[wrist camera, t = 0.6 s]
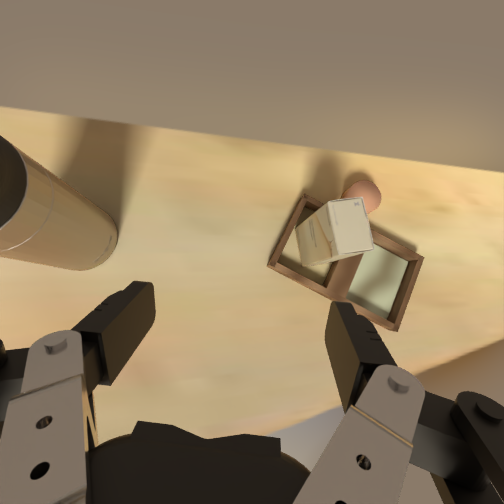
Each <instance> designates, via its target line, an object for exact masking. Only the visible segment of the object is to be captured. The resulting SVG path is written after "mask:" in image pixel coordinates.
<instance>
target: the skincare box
mask: <svg viewBox="0 0 504 504" xmlns="http://www.w3.org/2000/svg"><path fill="white" fill-rule="evenodd" d="M295 231H296V237H297V243H298V248H299V254H300V259H301V264H302V266H311V265H318V264H324V263H329V262H333V261H336V260H340V259H343V258H347V257H351V256H355V255H358V254H362V253H366V252H369V251H373V250H374V249H375V248H374V243H373V238H372V234H371V230H370V225H369V221H368V217H367V213H366V209H365V205H364V201H363V197H355V198H346V199H338V200H332V201H328V202H327V203H325V204H324V205H323V206H322V207H321V208H319V209H318V210H317V211H316V212H314V213H313V214H312V215H311V216H310V217H308V218H307V219H306V220H305V221H303V222H302V223H301V224H300V225H299V226H297V227H296V228H295Z"/></svg>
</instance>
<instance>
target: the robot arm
mask: <svg viewBox="0 0 504 504" xmlns="http://www.w3.org/2000/svg"><path fill="white" fill-rule="evenodd" d="M116 242H117V229H116V226H115V223H114V221H113V220H112V218H111V217H110V216H109V215H108V214H107V213H105V212H104V211H103V210H102V209H100V208H99V207H97V206H96V205H95V204H94V203H92V202H91V201H89V200H88V199H87V198H85V197H84V196H83V195H81V194H80V193H79V192H77V191H76V190H74V189H73V188H72V187H70V186H69V185H68V184H66V183H65V182H63V181H62V180H61V179H59V178H58V177H57V176H55V175H54V174H52V173H51V172H50V171H48V170H47V169H46V168H44V167H43V166H42V165H40V164H39V163H37V162H36V161H34V160H33V159H32V158H30V157H29V156H27V155H26V154H25V153H23V152H22V151H21V150H19V149H18V148H17V147H15V146H14V145H12V144H11V143H10V142H8V141H7V140H6V139H4V138H3V137H2V136H0V257H4V258H10V259H15V260H21V261H26V262H31V263H37V264H42V265H48V266H53V267H58V268H63V269H69V270H78V271H81V270H88V269H91V268H94V267H96V266H98V265H100V264H102V263H103V262H104V261H105V260H107V259H108V258H109V256H110V255H111V254H112V252H113V250H114V248H115V246H116ZM155 314H156V310H155V298H154V286H153V284H152V283H151V282H142V281H133V282H132V283H131V284H130V285H129V286H128V287H126V288H125V289H124V290H123V291H122V290H120V291H118V292H116V293H114V294H112V295H110V296H109V297H107V298H106V299H105V300H104V301H103V302H102V303H101V305H100V304H99V305H98V306H97V307H96V308H95V309H94V311H92V312H90V313H89V314H88V315H87V316H86V317H85V318H84V319H82V320H81V321H80V322H79V323H78V324H77V325H76V326H74V327H73V328H72V329H71V330H63V331H58V332H54V333H51V334H48V335H46V336H44V337H42V338H40V339H39V340H37V341H36V342H35V343H34V344H33V345H32V346H31V347H30V348H22V349H14V350H5V347H4V344H3V342H2V340H0V504H397V503H398V500H399V497H400V492H401V489H402V486H403V482H404V478H405V475H406V471H407V467H408V464H409V463H411V464H413V465H415V466H418V467H420V468H422V469H425V470H427V471H429V472H430V474H431V476H432V478H433V481H434V483H435V485H436V487H437V490H438V492H439V494H440V496H441V499H442V501H443V503H444V504H504V503H503V502H502V500H503V501H504V407H503V406H502V405H500V404H498V403H497V402H495V401H494V400H492V399H490V398H488V397H486V396H484V395H481V394H478V393H475V392H469V391H466V392H461V393H459V394H458V396H457V398H456V400H455V401H452V400H449V399H446V398H443V397H440V396H438V395H435V394H432V393H429V392H427V391H425V390H424V387H423V386H422V384H421V383H420V381H419V380H418V379H417V378H416V377H415V376H413V375H412V374H411V373H409V372H408V371H406V370H404V369H402V368H400V367H398V366H397V364H396V363H395V361H394V359H393V358H392V356H391V354H390V353H389V351H388V349H387V347H386V346H385V344H384V342H383V341H382V339H381V337H380V335H379V334H378V332H377V330H376V329H375V327H374V325H373V324H372V323H371V322H370V321H369V320H368V319H367V318H366V317H364V316H363V315H357V313H356V311H355V309H354V307H353V305H352V304H351V303H350V302H340V301H332V303H331V306H330V311H329V315H328V320H327V325H326V330H325V344H326V348H327V352H328V355H329V359H330V362H331V366H332V370H333V373H334V377H335V380H336V384H337V388H338V391H339V395H340V398H341V402H342V406H343V409H344V413H345V416H344V417H343V419H342V421H341V423H340V424H339V426H338V428H337V429H336V431H335V433H334V434H333V436H332V438H331V440H330V441H329V443H328V445H327V447H326V448H325V450H324V451H323V453H322V455H321V457H320V458H319V460H318V462H317V463H316V465H315V467H314V468H313V470H312V472H310V471H309V470H308V469H307V468H306V467H305V466H304V465H302V464H301V463H300V462H298V461H297V460H296V459H294V458H292V457H291V456H289V455H287V454H285V453H283V452H281V445H280V438H274V437H266V436H258V435H250V434H240V435H233V436H227V437H220V438H213V439H204V438H201V437H199V436H197V435H194V434H192V433H190V432H187V431H185V430H183V429H180V428H178V427H176V426H174V425H168V424H160V423H152V422H144V421H138V422H137V424H136V426H135V428H134V430H133V432H132V434H127V435H123V436H119V437H116V438H113V439H111V440H108V441H106V442H104V443H102V444H100V445H99V443H98V434H97V423H96V413H95V403H94V395H93V390H94V389H95V387H96V386H97V385H98V384H99V385H108V386H111V384H112V383H113V382H114V380H115V379H116V377H117V376H118V374H119V373H120V371H121V370H122V369H123V367H124V366H125V364H126V363H127V361H128V360H129V358H130V357H131V356H132V354H133V353H134V351H135V350H136V348H137V347H138V345H139V344H140V343H141V341H142V340H143V338H144V337H145V335H146V334H147V332H148V331H149V330H150V328H151V327H152V325H153V323H154V320H155ZM490 481H491V482H492V484H493V485H494V487H495V488H496V490H497V492H498V493H499V495H500V497H501V498H502V500H501V498H500V497H499V495H498V493H497V492H496V490H495V489H494V487H493V485H492V484H491V482H490Z"/></svg>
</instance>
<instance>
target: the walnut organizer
mask: <svg viewBox="0 0 504 504" xmlns="http://www.w3.org/2000/svg"><path fill="white" fill-rule="evenodd" d="M323 205H324V204H323V203H321V202H319V201H317V200H315V199H313V198H312V197H310V196H308V195H306V194H304V195H303V196H302V198H301V199H300V201H299V203H298V205H297V207H296V209H295V211H294V213H293V215H292V217H291V219H290V221H289V223H288V225H287V227H286V229H285V231H284V233H283V235H282V237H281V239H280V241H279V243H278V245H277V247H276V249H275V251H274V253H273V255H272V257H271V259H270V261H269V263H268V265H267V267H269V268H271V269H273V270H275V271H277V272H278V273H280V274H282V275H284V276H286V277H288V278H290V279H292V280H294V281H296V282H298V283H300V284H301V285H303V286H305V287H307V288H309V289H311V290H313V291H315V292H317V293H319V294H321V295H322V296H324V297H326V298H328V299H330V300H332V301H340V302H350V303H351V304H352V305H353V307H354V309H355V311H356V313H357V314H359V315H363V316H364V317H366V318H367V319H368V320H370V321H372V322H374V323H376V324H378V325H380V326H382V327H384V328H386V329H388V330H391V331H396V332H398V329H399V327H400V324H401V321H402V318H403V316H404V313H405V310H406V307H407V304H408V302H409V299H410V296H411V293H412V290H413V288H414V285H415V282H416V279H417V276H418V274H419V271H420V268H421V265H422V262H423V260H424V257H423V256H421V255H419V254H417V253H415V252H413V251H411V250H409V249H408V248H406V247H404V246H402V245H400V244H398V243H396V242H394V241H392V240H391V239H389V238H387V237H385V236H383V235H381V234H379V233H377V232H376V231H374V230H372V229H370V230H371V234H372V238H373V243H375V244H377V245H379V246H381V247H382V248H381V247H379V246H377V245H375V244H374V248H375V249H374V250H373V251H369V252H366V253H362V254H358V255H355V256H351V257H347V258H343V259H340V260H336V261H333V264H332V266H331V268H330V271H329V273H328V275H327V277H326V280H325V282H324V284H323V286H321V285H319V284H317V283H315V282H313V281H311V280H309V279H308V278H306V277H304V276H302V275H300V274H298V273H296V272H294V271H292V270H290V269H288V268H287V267H285V266H283V265H281V264H279V263H277V261H278V259H279V257H280V255H281V253H282V251H283V249H284V247H285V245H286V243H287V241H288V239H289V236H290V234H291V232H292V230H293V228H294V226H295V224H296V222H297V220H298V218H299V216H300V214H301V212H302V210H303V208H304V206H305V207H307V208H309V209H311V210H313V211H315V212H316V211H317V210H318V209H319V208H321V207H322V206H323ZM383 248H384V249H383ZM385 249H386V250H385ZM387 250H388V251H387ZM389 251H390V252H389ZM391 252H392V253H394V254H396V255H398V256H399V257H398V256H396V255H394V254H392V253H391ZM400 257H401V258H400ZM402 258H403V259H402ZM404 259H405V260H404ZM406 260H407V261H406ZM408 261H409V262H408ZM404 272H405V273H404ZM401 280H402V281H401ZM391 307H392V308H391ZM388 315H389V316H388Z"/></svg>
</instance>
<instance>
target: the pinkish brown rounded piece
mask: <svg viewBox="0 0 504 504" xmlns="http://www.w3.org/2000/svg"><path fill="white" fill-rule="evenodd" d="M355 197H363V201H364V205H365V209H366V213H367V214H368V213H370V212H372V211H373V210H375V209H377V208H378V206H379V205H380V203H381V193H380V191H379V189H378V187H377V186H376V185H375V184H373V183H372V182H370V181H366V180H361V181H358V182H356V183H354V184H353V185H352V186H351V187H350V188H349V189H347V190H346V191H345V192H344V193H343V195H342V198H341V199H346V198H355Z"/></svg>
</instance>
